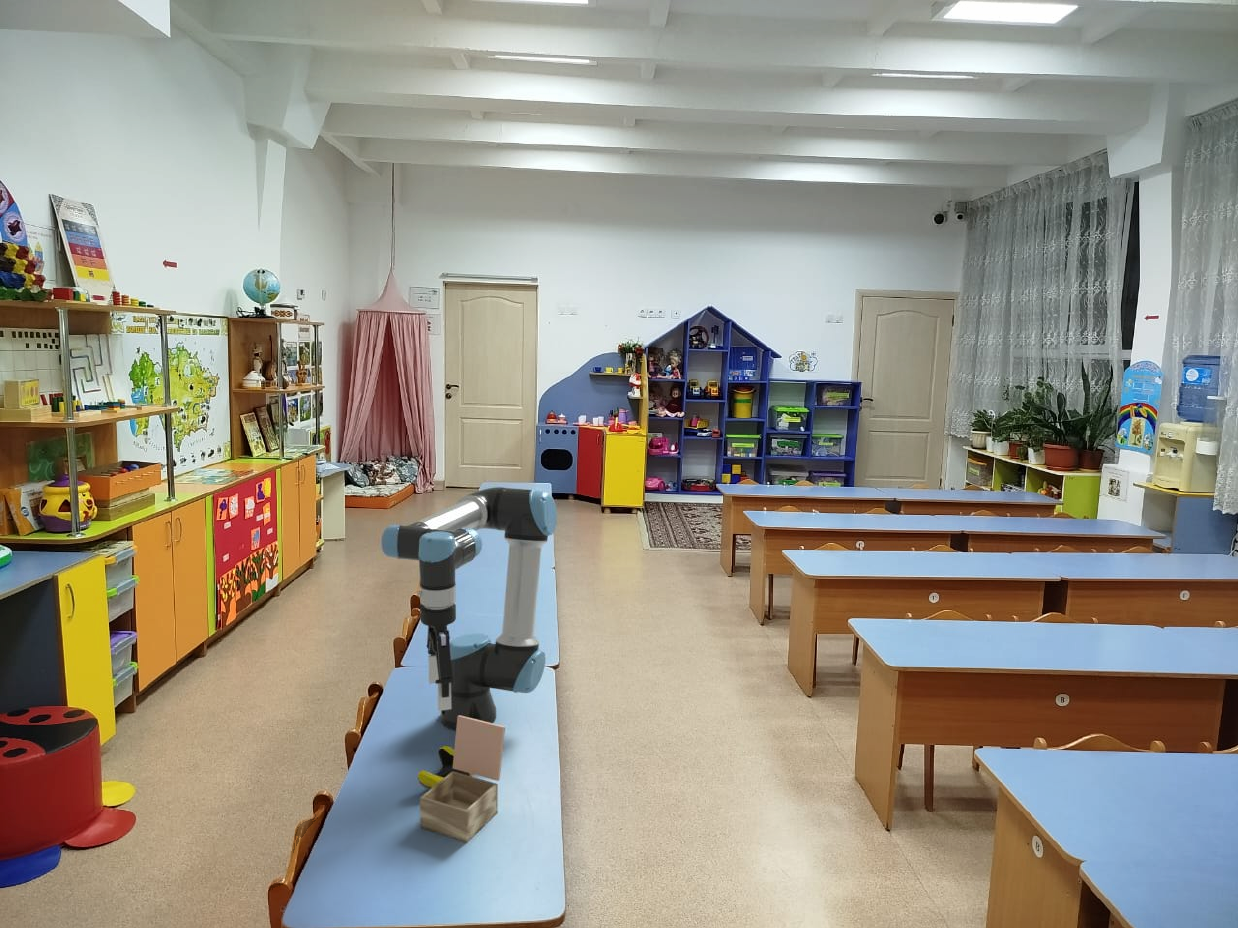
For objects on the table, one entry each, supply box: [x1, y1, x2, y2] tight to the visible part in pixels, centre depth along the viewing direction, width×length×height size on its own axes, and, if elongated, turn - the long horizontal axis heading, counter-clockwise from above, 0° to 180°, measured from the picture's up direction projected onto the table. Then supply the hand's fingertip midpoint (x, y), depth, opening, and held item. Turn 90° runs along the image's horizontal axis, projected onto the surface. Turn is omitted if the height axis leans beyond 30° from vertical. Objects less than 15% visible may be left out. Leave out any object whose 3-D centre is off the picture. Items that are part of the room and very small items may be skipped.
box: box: [419, 771, 499, 843], centre depth 182 cm, size 12×12×7 cm
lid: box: [453, 715, 506, 782], centre depth 188 cm, size 12×12×1 cm
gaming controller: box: [417, 745, 473, 791], centre depth 198 cm, size 15×6×10 cm
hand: (439, 695), depth 183 cm, fingers open, 13 cm apart
